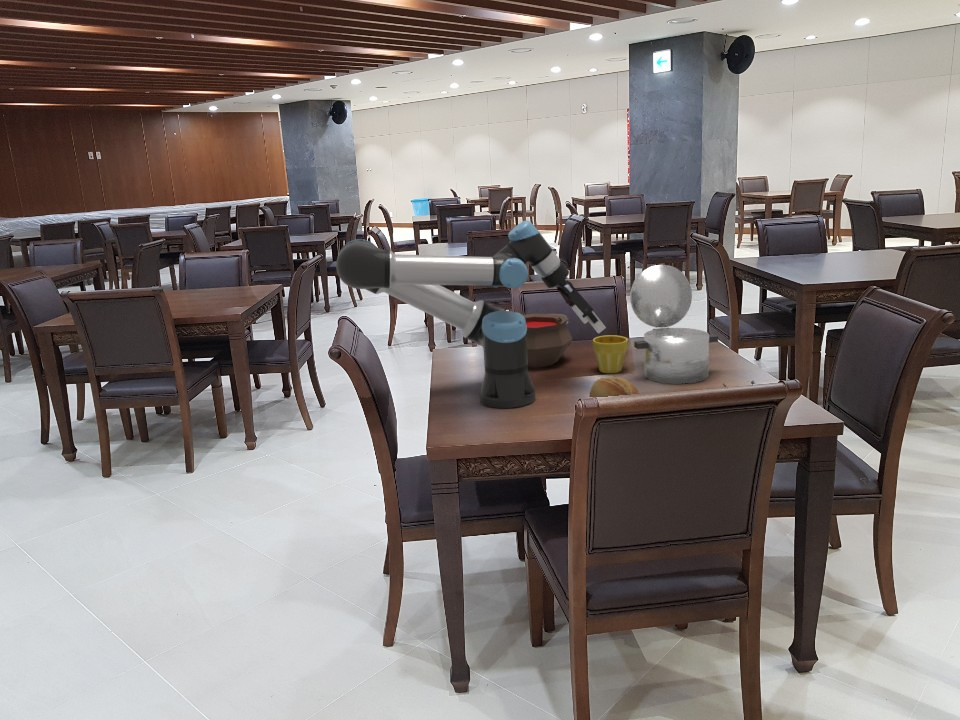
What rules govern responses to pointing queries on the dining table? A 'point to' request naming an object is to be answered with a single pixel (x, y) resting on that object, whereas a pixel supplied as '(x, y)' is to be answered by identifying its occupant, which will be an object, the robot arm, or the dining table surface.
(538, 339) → the brown clay bowl
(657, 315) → the cooker lid
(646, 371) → the pressure cooker
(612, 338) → the plant pot
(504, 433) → the dining table surface
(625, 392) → the bread roll
